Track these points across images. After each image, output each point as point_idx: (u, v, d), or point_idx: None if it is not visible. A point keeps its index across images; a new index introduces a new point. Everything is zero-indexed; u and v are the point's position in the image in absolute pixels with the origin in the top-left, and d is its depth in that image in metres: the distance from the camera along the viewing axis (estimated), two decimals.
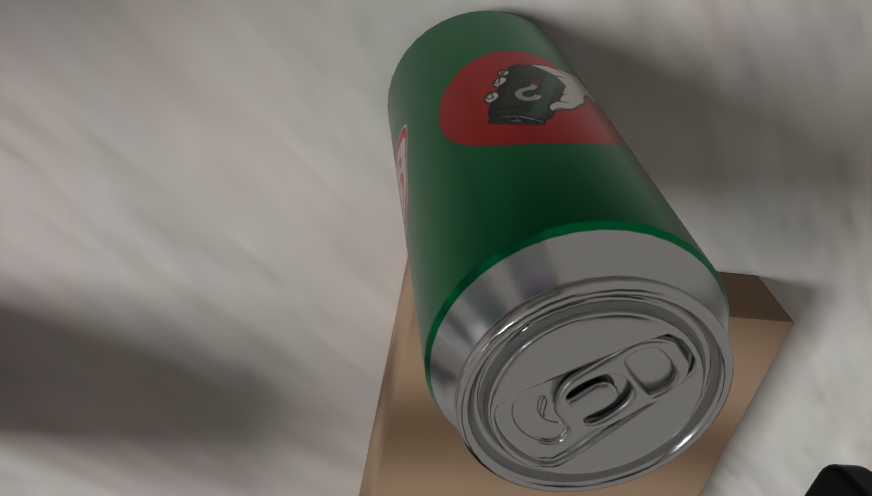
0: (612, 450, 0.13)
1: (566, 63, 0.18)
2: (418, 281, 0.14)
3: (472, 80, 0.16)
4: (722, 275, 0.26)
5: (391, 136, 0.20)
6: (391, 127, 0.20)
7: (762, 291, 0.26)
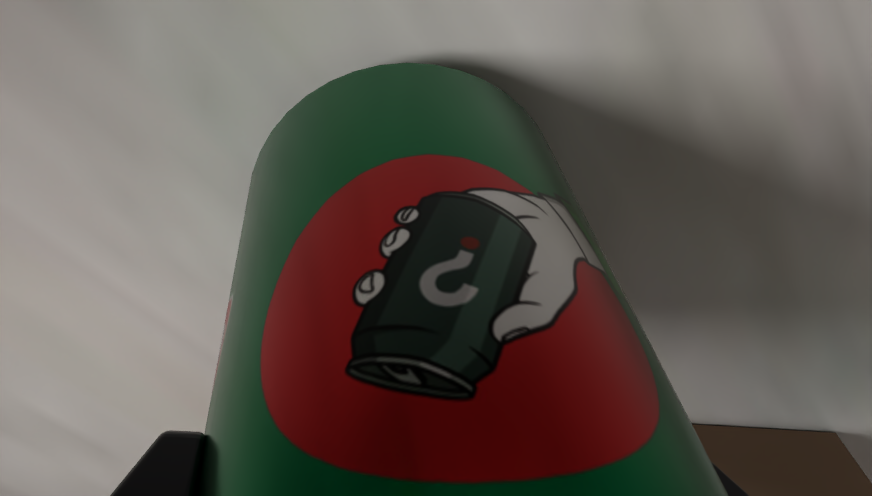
0: None
1: (544, 166, 0.10)
2: None
3: (344, 230, 0.08)
4: (784, 435, 0.18)
5: None
6: None
7: (845, 462, 0.17)
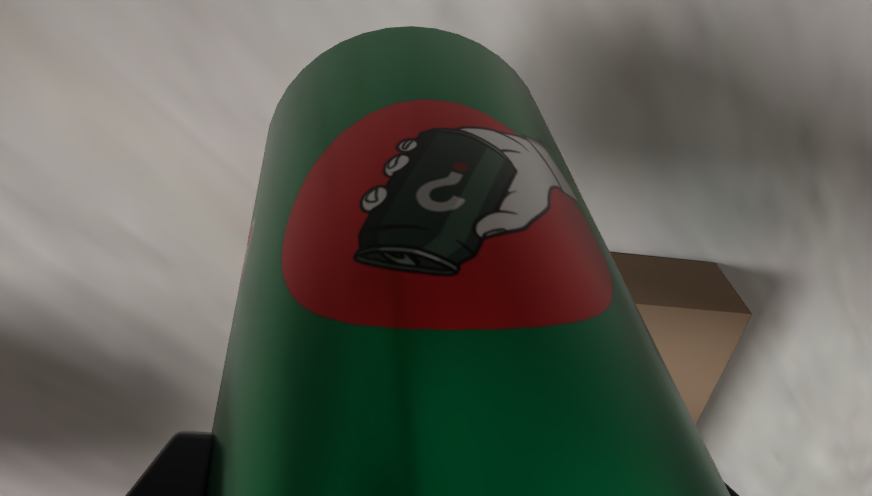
0: None
1: (529, 116, 0.11)
2: None
3: (353, 157, 0.09)
4: (674, 262, 0.23)
5: None
6: None
7: (719, 279, 0.23)
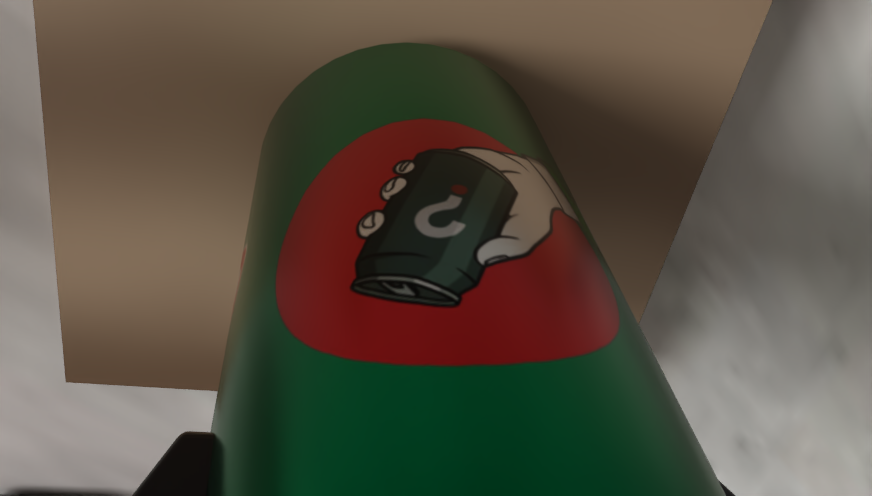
0: None
1: (528, 134, 0.11)
2: None
3: (349, 179, 0.09)
4: None
5: None
6: None
7: None
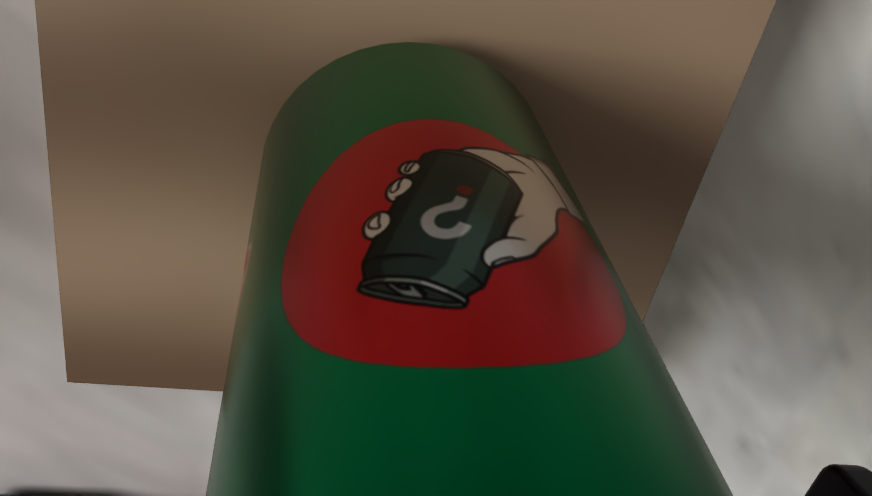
0: None
1: (532, 134, 0.11)
2: None
3: (354, 180, 0.09)
4: None
5: None
6: None
7: None
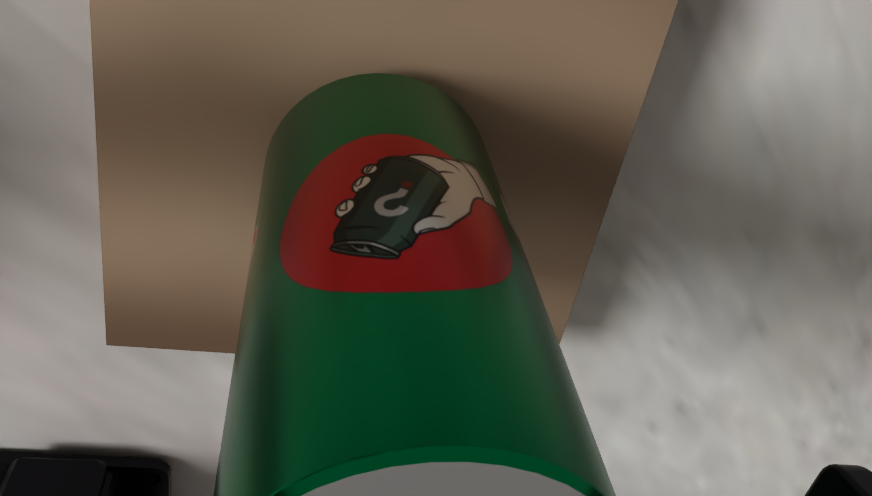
0: None
1: (467, 144, 0.15)
2: None
3: (330, 177, 0.13)
4: None
5: None
6: None
7: None
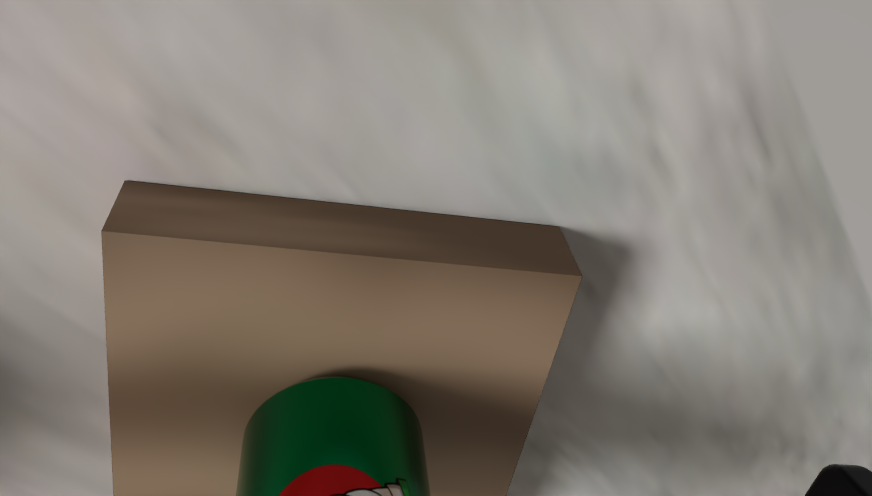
0: None
1: (396, 454, 0.19)
2: None
3: None
4: (513, 225, 0.22)
5: None
6: None
7: (557, 242, 0.22)
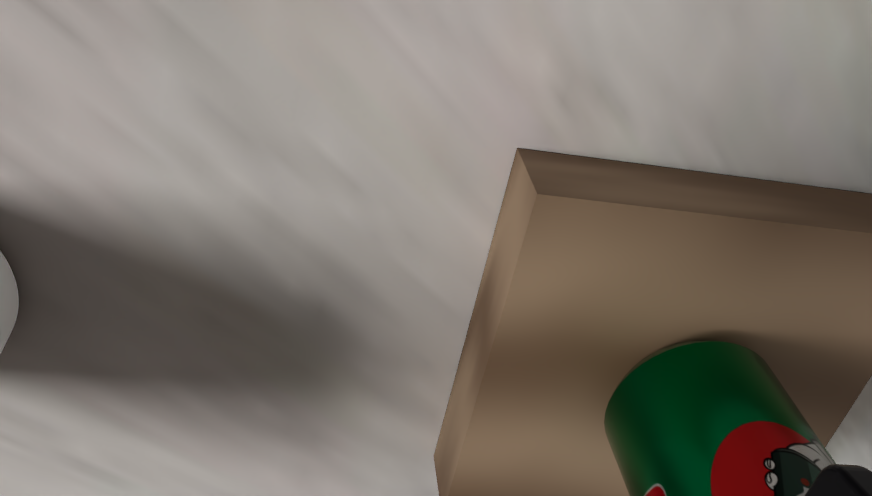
0: None
1: (798, 413, 0.20)
2: None
3: (740, 469, 0.18)
4: (863, 195, 0.23)
5: (617, 454, 0.22)
6: (623, 453, 0.21)
7: None
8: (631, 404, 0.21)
